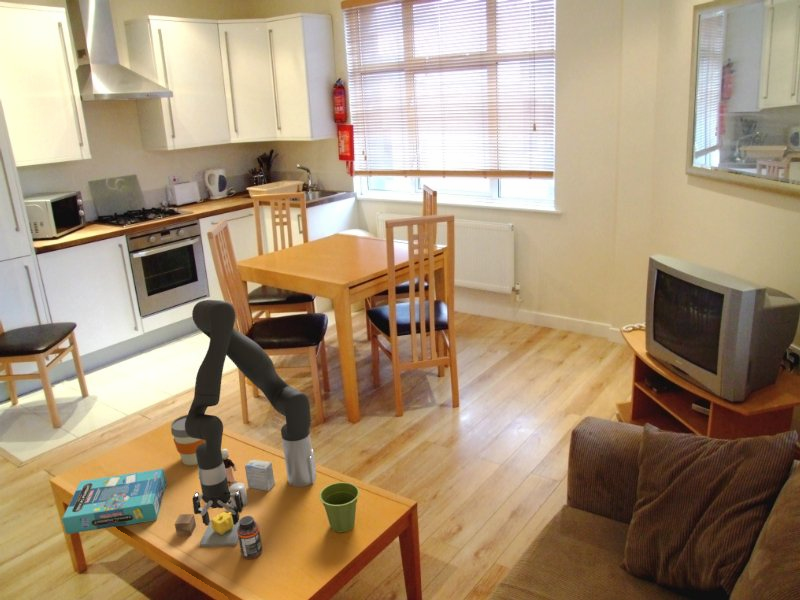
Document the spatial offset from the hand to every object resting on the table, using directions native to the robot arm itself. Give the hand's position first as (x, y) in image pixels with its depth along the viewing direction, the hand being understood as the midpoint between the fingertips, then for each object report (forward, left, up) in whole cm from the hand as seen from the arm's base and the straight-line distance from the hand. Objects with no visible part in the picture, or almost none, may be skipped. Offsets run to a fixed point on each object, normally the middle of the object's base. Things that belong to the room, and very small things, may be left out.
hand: (221, 523), depth 199 cm
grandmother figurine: (+6, -27, -4) cm, 28 cm away
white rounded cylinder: (-1, -15, -4) cm, 15 cm away
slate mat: (0, 0, -4) cm, 4 cm away
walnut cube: (+12, -2, -4) cm, 13 cm away
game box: (+25, -17, 0) cm, 31 cm away
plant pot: (-36, -2, -4) cm, 36 cm away
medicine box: (-6, -24, -4) cm, 25 cm away
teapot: (0, 0, -3) cm, 3 cm away
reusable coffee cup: (+23, -43, -4) cm, 49 cm away
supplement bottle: (-11, +9, -4) cm, 15 cm away
